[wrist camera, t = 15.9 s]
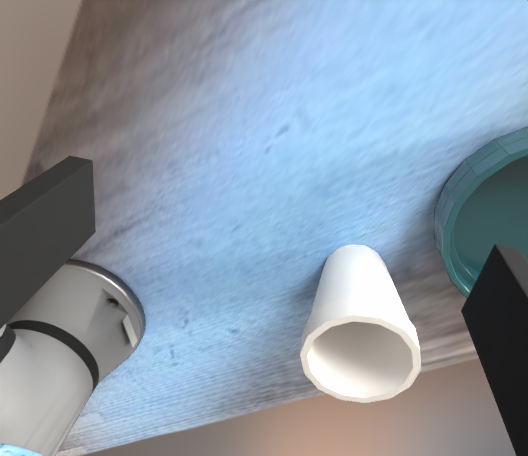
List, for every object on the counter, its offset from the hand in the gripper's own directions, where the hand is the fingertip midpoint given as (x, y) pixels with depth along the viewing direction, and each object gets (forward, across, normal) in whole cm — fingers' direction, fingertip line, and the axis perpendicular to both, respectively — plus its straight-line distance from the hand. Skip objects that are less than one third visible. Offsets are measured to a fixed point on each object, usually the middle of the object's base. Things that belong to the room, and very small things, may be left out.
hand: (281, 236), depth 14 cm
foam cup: (+27, -8, +18) cm, 33 cm away
